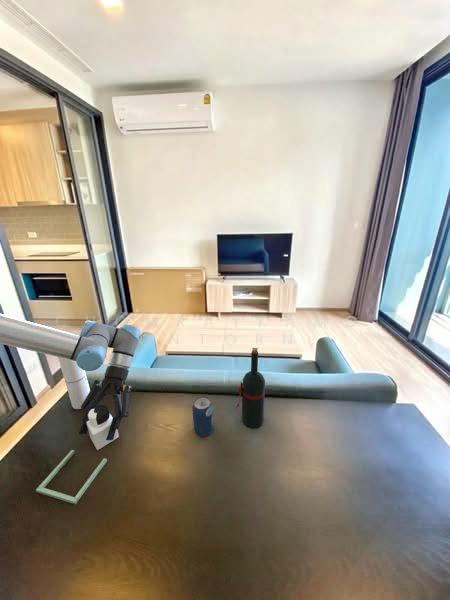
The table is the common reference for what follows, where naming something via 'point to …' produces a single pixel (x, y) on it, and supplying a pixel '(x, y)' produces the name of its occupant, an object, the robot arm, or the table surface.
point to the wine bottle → (252, 395)
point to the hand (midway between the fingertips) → (96, 436)
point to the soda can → (202, 416)
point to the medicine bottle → (100, 426)
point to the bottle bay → (63, 496)
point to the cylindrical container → (75, 382)
